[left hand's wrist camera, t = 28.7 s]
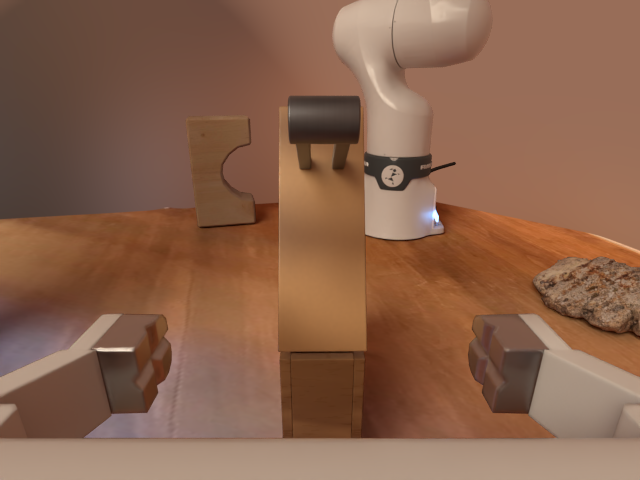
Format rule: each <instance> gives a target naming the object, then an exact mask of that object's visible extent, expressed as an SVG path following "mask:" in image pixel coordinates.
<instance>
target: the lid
mask: <svg viewBox="0 0 640 480" xmlns="http://www.w3.org/2000/svg"><path fill="white" fill-rule="evenodd" d="M363 119H364V118H363V107H361V105H360V98H359V96H289V98H288V107H279V258H278V352H339V351H367V318H366V251H365V185H364V120H363Z"/></svg>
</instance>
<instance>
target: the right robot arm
mask: <svg viewBox="0 0 640 480" xmlns="http://www.w3.org/2000/svg"><path fill="white" fill-rule="evenodd" d="M491 28H492V10H491V6H490V3H489V1H488V0H359V1H356V2H354V3H351V4H349V5H347V6H345V7H343V8H342V9H341V10H340V11H339V13H338V15H337V17H336V19H335V22H334V26H333V34H332V36H333V45H334V49H335V51H336V53H337V55H338V57H339V59H340V60H341V61H342V63H343V64H345V65H346V66H347V67H348V68H349V69H350V70H351V71H352V73H353V74H354V75H355V77H356V79H357V80H358V82H359V84H360V86H361V89H362V91H363V95H364V98H365V102H366V108H367V152H365V154H364V172H365V174H364V185H365V234H366V235H369V236H372V237H377V238H383V239H392V240H408V239H417V238H421V237H424V236H427V235H432V234H441V233H444V226H443V225H442V223H441V221H440V220H439V216H438V214H437V212H436V193H437V188H436V187H435V186H434V184H433V183H432V182H431V181H430V179H429V176H428V175H429V174H430V173H431V172H433V171H436V170H439V169H442V168H445V167H449V166H452V165H455V164H456V163H455V162H453V163H449V164H446V165H442V166H439V167H435V168H433V169H431V166H432V161H431V159H432V155H431V154H430V144H431V133H432V123H433V110H432V107H431V105H430V104H429V102H428V101H427V100H426V99H425V98H424V97H422V96H421V95H419V94H417V93H416V92H414V91H412V90H410V89H409V87H408V85H407V83H406V80H405V69H406V68H433V67H446V66H451V65H455V64H459V63H463V62H467V61H471V60H473V59H474V58H475V57H476V56H477V55H478V54H479V53H480V52H481V51H482V49H483V48H484V46H485V44H486V43H487V41H488V38H489V36H490V32H491Z"/></svg>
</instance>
